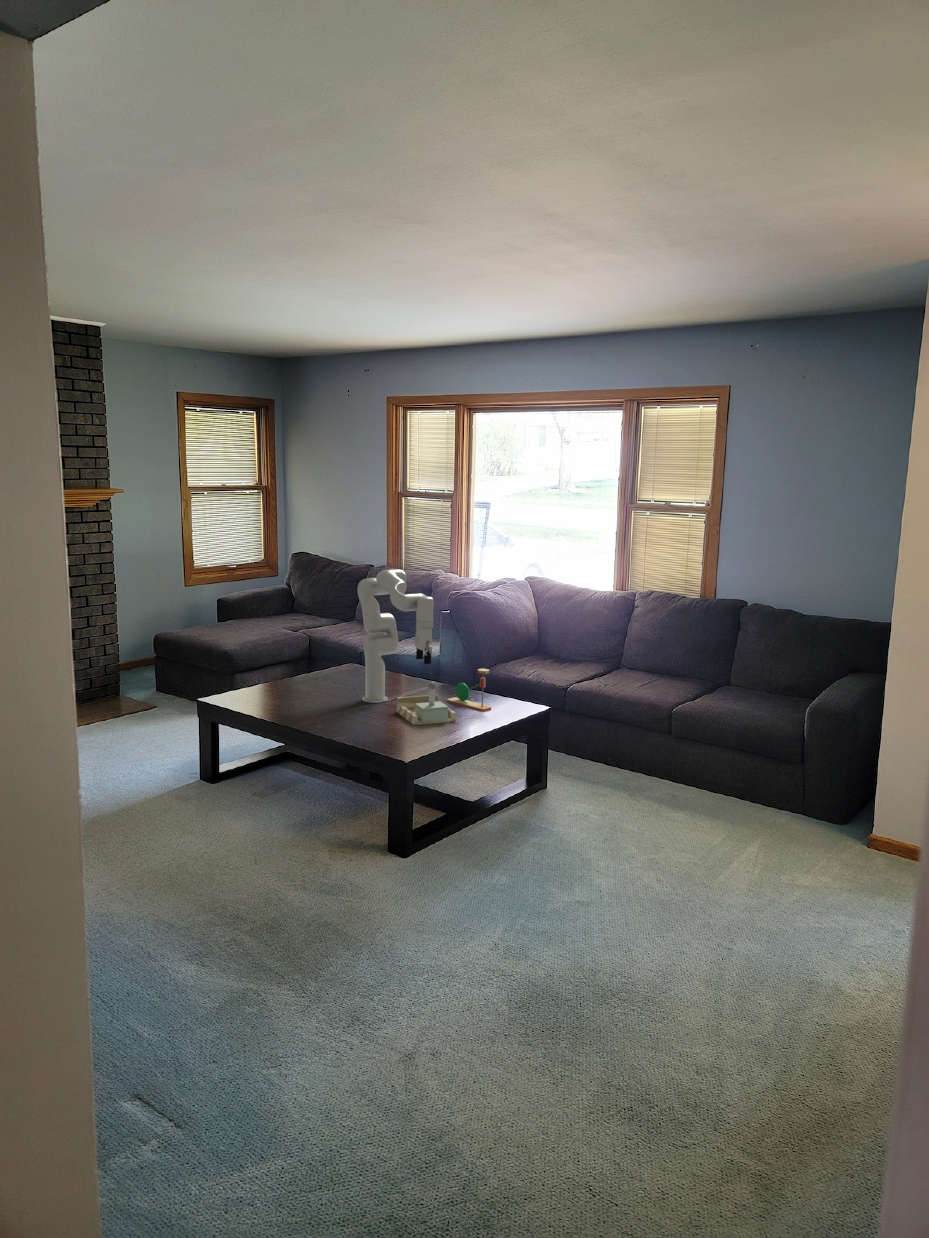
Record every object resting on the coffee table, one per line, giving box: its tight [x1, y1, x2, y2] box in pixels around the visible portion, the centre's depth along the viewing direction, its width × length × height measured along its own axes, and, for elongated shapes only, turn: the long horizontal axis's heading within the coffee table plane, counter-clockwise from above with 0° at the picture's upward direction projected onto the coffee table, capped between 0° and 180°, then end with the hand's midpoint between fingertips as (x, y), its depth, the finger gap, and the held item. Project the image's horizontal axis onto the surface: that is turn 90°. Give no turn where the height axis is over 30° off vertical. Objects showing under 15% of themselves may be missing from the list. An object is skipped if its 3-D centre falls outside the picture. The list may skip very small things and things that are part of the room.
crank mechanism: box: [446, 668, 492, 713], centre depth 423 cm, size 25×7×19 cm, turn 45°
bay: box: [396, 693, 457, 726], centre depth 403 cm, size 23×20×7 cm
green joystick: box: [415, 681, 449, 722], centre depth 396 cm, size 10×12×17 cm
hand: (423, 661), depth 396 cm, fingers open, 9 cm apart
